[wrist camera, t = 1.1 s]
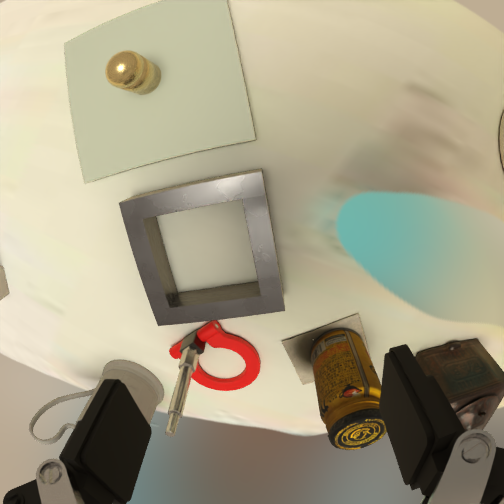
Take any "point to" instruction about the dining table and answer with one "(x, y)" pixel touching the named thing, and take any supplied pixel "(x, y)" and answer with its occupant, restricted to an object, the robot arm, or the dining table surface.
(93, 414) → the robot arm
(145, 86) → the post
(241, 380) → the tow hook
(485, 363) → the manual coffee grinder
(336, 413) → the condiment
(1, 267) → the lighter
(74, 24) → the dining table surface
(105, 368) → the glass holder
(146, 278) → the square metal frame
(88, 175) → the plate
